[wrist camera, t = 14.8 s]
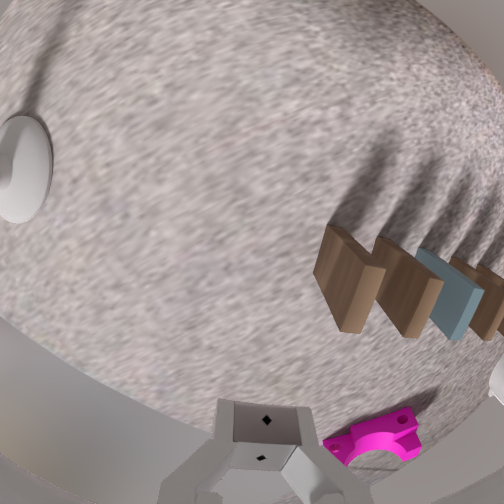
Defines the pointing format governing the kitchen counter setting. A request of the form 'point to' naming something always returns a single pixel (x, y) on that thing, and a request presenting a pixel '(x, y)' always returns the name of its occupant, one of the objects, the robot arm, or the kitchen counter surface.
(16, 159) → the candlestick
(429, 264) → the domino
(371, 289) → the domino
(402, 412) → the toy block
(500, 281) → the domino
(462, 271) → the domino
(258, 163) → the kitchen counter surface
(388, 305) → the domino
